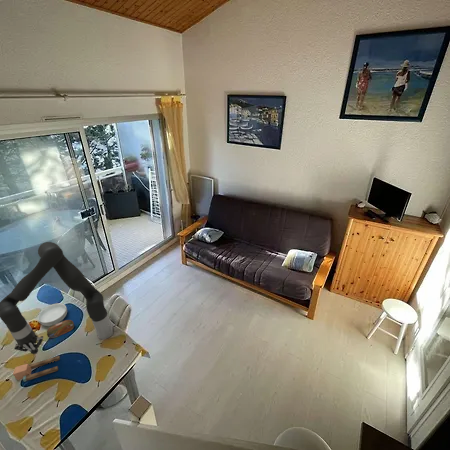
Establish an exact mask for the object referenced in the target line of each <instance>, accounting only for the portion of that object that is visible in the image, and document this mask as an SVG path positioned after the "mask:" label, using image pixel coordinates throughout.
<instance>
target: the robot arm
mask: <svg viewBox="0 0 450 450" xmlns="http://www.w3.org/2000/svg"><path fill="white" fill-rule="evenodd" d="M37 254H38V256H39V260H38V262H37V264H36V265H35V266H34V268H33V269H31V270H30V272H28V273H27V274H26V275H25V276H24V277H22V278H20V280H19V281H18V283H17V284H16V285H15V286H14V288H13V289H12V291H11V292H10V293H8V294H7V295H6V296H5V297H4V298H3V299H1V301H0V320H1V321H2V323H3V324H5V326H6V328H7V329H8V331H9V332H10V334H11V336H12V338H13V339H14V341H15V342H16V344H15V346H14V350H16V351H20V352H25V353H26V352H30V353H31V354H32V355H36V354H38V352H39V348H40V347H41V344H42V342H43V340H44V336H43V335H41V336H39V337H38V335H36V333H35V332H34V330H33V328H32V326H31V325H30V324H29V322H28V321H27V320H26V318H25V317H24V316H23V314H22V312H21V310H20V309H19V307H18V303H19V302H24V301H25V300H26V299H28V297H29V296H30V295H31V294H32V293H33V290H35V288H36V286H37V285H38V284H39V283H40V281H41V280H43V278H44V277H45V276H46V275H47V274H48V273H49V272H50V270H52V269H54V270H55V272H56V273H57V275H58V277H59V278H60V279H61V280H62V282H63V283H64V284H66V286H67V287H68V288H69V289H71V290H72V291H75V292H78V293H80V294H81V295H82V296H83V297H84V299H85V303H86V304H85V307H86V311H87V314H88V317H89V318H90V319H91V321H92V325H93V327H94V330H95V333H96V336H97V337H98V339H99V340H106V339H109V338H110V337H111V336H113V335H114V327H113V323H112V321H111V318H110V317H109V314H108V313H109V312H108V311H107V309H106V307H105V304H104V295H103V294H102V293H101V292H100V291H99V290H98V289H97V288H96V287H94V286H93V285H92V284H91V282H90V281H89V280H88V278H87V277H86V276H85V275H84V274H83V272H82V271H81V270H80V269H79V268H78V267H77V266H76V265H75V264H74V263H72V262H71V261H70V260H68V258H67V257H66V256H65V254H64V252H63V250H62V248H61V247H60V246H59V245H58V244H57V243H55V242H52V241H46V242H43V243H41V244H40V245H39V246H38V250H37Z"/></svg>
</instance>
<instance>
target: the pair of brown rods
mask: <svg viewBox="0 0 450 450" xmlns="http://www.w3.org/2000/svg"><path fill="white" fill-rule="evenodd" d="M60 360H61V357H60V355H57V356H54V357H50V358H47V359H44V360H41V361H40V360H39V361H38V362H34V363H31V364H29V366H30V367H31V369H36V368H39V367H42V366H44V365H45V366H46V365H48V363H49V364H52V363H55V362H58V361H60ZM54 361H55V362H54ZM51 362H52V363H51ZM58 371H59V366H58V365H57V366H53V367H51V368H47V369H43V370H41V371H38V372H37V371H36V372H35V373H31V375H28V376H24V377H23V379H22V381H23V382H24V383H25V382H27V381H31V380H34V379H37V378H40V377H43V376H46V375H49V374H53V373H55V372H58Z"/></svg>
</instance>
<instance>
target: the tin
mask: <svg viewBox="0 0 450 450" xmlns="http://www.w3.org/2000/svg"><path fill="white" fill-rule="evenodd" d="M74 328H75V323H74V320H71V319H65V320H62V321H60V322H59V323H57V324H55V325H51V326H49V327H48V329H47V330H46V335H47V338H49V339H56V338H58V337H60V336H62V335H65V334H67V333H68V332H71V331H72V330H73V329H74Z"/></svg>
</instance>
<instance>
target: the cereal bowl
mask: <svg viewBox="0 0 450 450" xmlns="http://www.w3.org/2000/svg"><path fill="white" fill-rule="evenodd" d="M67 313H68V308H67V306H66V304H64V303H59V302H57V303H53V304H50V305H47V306H46V307H44V308H43V309H42V310H41V311H39V312H38V315H37V321H38V322H39V324H40V325H43V326H44V327H51V326H53V325H56V324H58V323H60V322H63V321H64V319H65V318H66V317H67Z"/></svg>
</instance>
